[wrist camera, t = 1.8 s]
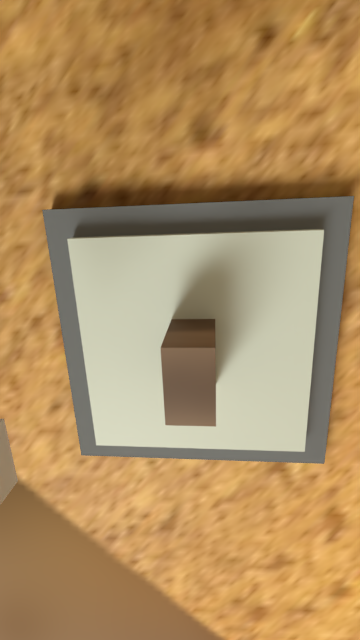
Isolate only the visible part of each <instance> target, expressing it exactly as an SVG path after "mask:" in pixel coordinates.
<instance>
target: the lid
mask: <svg viewBox="0 0 360 640" xmlns="http://www.w3.org/2000/svg"><path fill="white" fill-rule="evenodd" d="M323 238H324V230H322V229H302V230H273V231H245V232H216V233H188V234H159V235H131V236H102V237H74V238H69V239H67V241H68V248H69V255H70V262H71V269H72V276H73V284H74V291H75V298H76V305H77V312H78V319H79V326H80V333H81V340H82V347H83V354H84V362H85V369H86V376H87V383H88V390H89V397H90V404H91V411H92V418H93V425H94V433H95V440H96V445H102V446H134V447H167V448H199V449H231V450H263V451H295V452H305V443H306V431H307V420H308V409H309V397H310V386H311V374H312V363H313V352H314V340H315V329H316V318H317V306H318V295H319V283H320V272H321V261H322V249H323Z"/></svg>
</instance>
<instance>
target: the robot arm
mask: <svg viewBox="0 0 360 640" xmlns="http://www.w3.org/2000/svg"><path fill="white" fill-rule="evenodd" d="M17 481H18V480H17V475H16V471H15V466H14V462H13V457H12V453H11V448H10V444H9V439H8V435H7V430H6V426H5V421H4V419H0V504H1V503H2V502H3V500H4V499H5V498H6V496H7V495H8V494H9V492H10V491H11V489H12V488H13V487H14V485H15V484H16V483H17Z"/></svg>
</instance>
